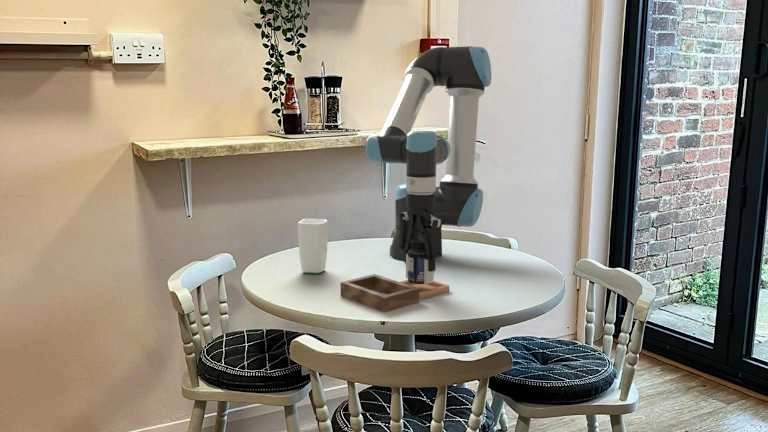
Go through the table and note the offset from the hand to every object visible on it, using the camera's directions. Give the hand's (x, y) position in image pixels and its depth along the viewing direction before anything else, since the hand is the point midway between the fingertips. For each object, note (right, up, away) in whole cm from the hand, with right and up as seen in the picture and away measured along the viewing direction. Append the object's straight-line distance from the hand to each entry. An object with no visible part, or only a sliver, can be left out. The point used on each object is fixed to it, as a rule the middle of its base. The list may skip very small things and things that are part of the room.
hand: (419, 279), depth 176 cm
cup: (-29, 0, +18) cm, 35 cm away
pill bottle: (0, -1, 0) cm, 1 cm away
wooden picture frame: (-10, -4, -6) cm, 13 cm away
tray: (0, -3, +1) cm, 3 cm away
